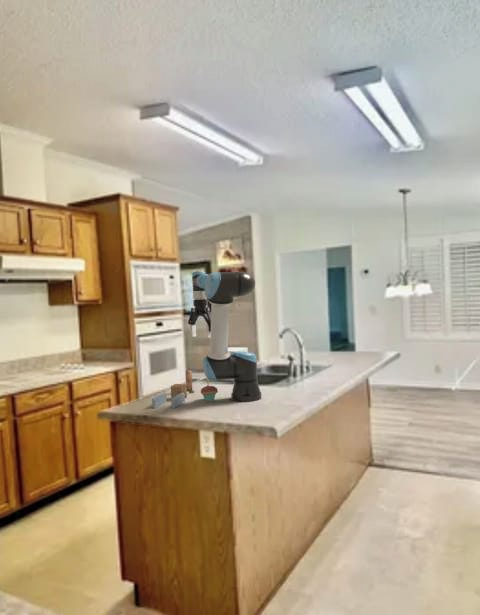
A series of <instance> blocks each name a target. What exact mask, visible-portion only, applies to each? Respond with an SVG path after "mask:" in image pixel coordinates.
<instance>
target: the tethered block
mask: <svg viewBox="0 0 480 615" xmlns="http://www.w3.org/2000/svg"><path fill="white" fill-rule="evenodd" d="M181 393H184V394H185V399H186V398H188V395H189V394H194V393H195V391H194V390H193V374H192V370H186V371H185V383H174V384H172V385H171V386H170V400H171V399H172V398H174V397H176V396H177V395H179V394H181ZM188 393H189V394H188Z"/></svg>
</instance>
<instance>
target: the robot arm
mask: <svg viewBox="0 0 480 615" xmlns="http://www.w3.org/2000/svg"><path fill="white" fill-rule="evenodd" d="M191 274H192V276H191V280H192V282H191V283H192V298H193V307H191V308H190V314H189V318H188V320H187V321H188V322H187V324H188V325H190V330H191V337H192V338H193V337H197V325H196V322H197V321H198V318H199V317H203V320H204V321H205V323H206V325H207V326H206V331H207V332H206V333H207V338H209V339H210V341H209V346H210V347H209V350H208V351H207V352H206V356H205V357H204V356H203V358H202V366H203V371H204V376H205V378H206V380H207V379H208V380H209V382H210V381H211V382H213V381H216V382H217V381H222V380H225V379H234V381H233V386H232V392H231V393H230V394H231V395H230V397H231V400H232V401H236V402H253V401H254V402H255V401H257V400H260V399H262V397H263V396H262V392H261V390H260V386H259V383H258V367H257V366H258V365H257V364H258V361H257V356H256V354H255V353H253V352H249V351H248V352H239V351H236V352H233V355H231V354H230V352H229V351H228V348H229V330H230V329H229V328H230V327H229V326H230V311H231V310H230V306H231V304H233V302H234V298H238V297H239V298H240V297H245V296H247V295H250V294H251V293H252V292H253V291H254V289H255V287H256V280H255V278H254V277H253V276H252V275H251V274H250V273H248V272H245V271H230V272H229V271H227V272H226V271H224V272H222V271H221V272H220V271H218V272H217V271H216V272H211V273H206V272H205V271H203V270H198V271H193V272H192V273H191ZM207 299H208V300H207ZM208 302H209V304H211V305H210V306H211V307H208Z"/></svg>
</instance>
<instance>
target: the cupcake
mask: <svg viewBox="0 0 480 615" xmlns="http://www.w3.org/2000/svg"><path fill="white" fill-rule="evenodd" d="M206 382H207V385H206V386H204V387H202V388H201V389H200V394H201V395H202V397H203V399H204V401H205V402H212V401H215V398H216V395H217V393H218V392H219V391H218V388H217V387H216V386H215V385H210V383H209V382H210V380H208V379H207V378H206Z"/></svg>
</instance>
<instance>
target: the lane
mask: <svg viewBox="0 0 480 615" xmlns="http://www.w3.org/2000/svg"><path fill="white" fill-rule="evenodd" d="M167 396H168V395H167V392H162V393H161V394H159V395H156V396H155V397H153V398H152V399H151V403H152V405H151V406H152V409H156V408H158V407H160V406H161V405H163V404H165V403H166V402H167V401H168V400H167V399H168V398H167ZM185 401H186V398H185V394H184V393H181V394H179V395H177V396H176V397H174V398H172V399H171V398H170V402H171V403H170V404H171V410H174V409H176V408H177V407H179V406H181V405H183V402H184V403H185ZM180 404H181V405H180ZM178 405H179V406H178ZM175 407H176V408H175Z"/></svg>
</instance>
